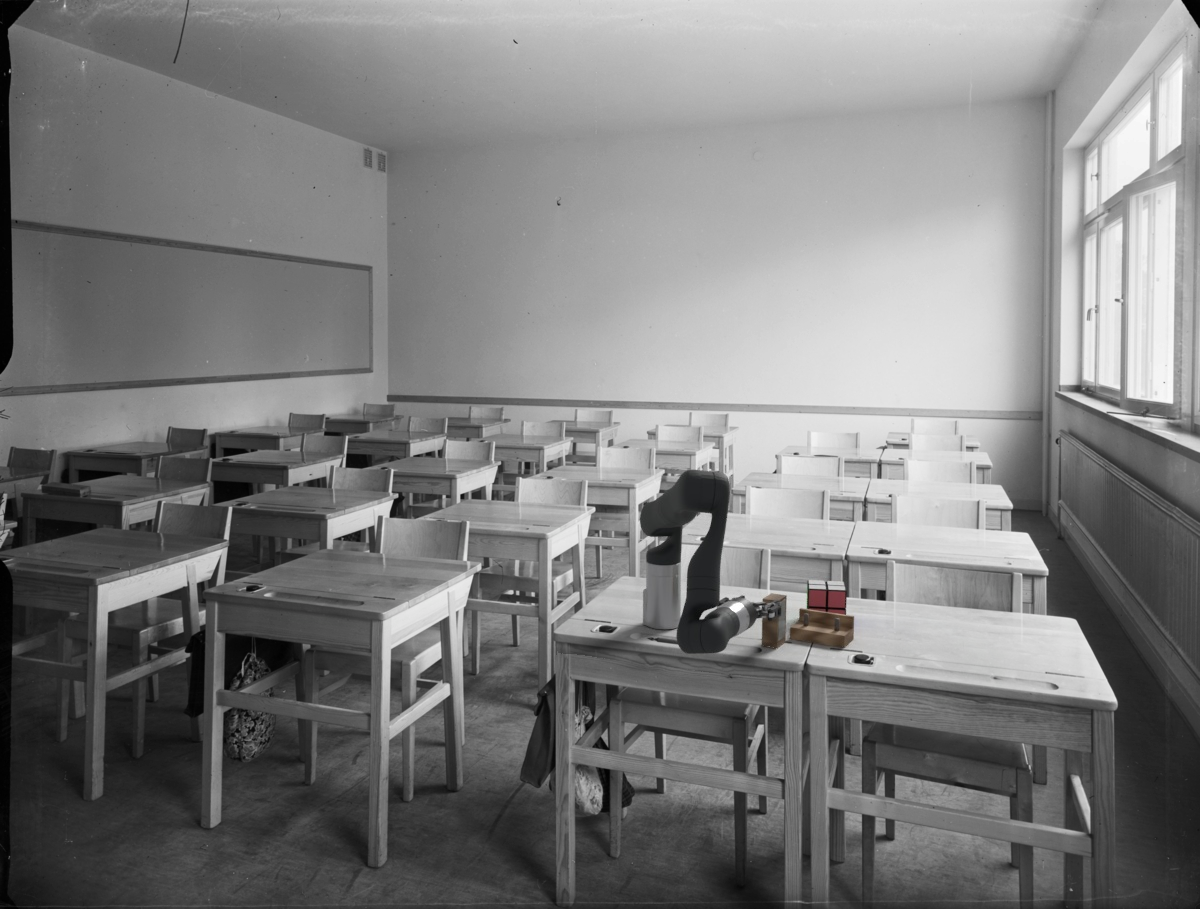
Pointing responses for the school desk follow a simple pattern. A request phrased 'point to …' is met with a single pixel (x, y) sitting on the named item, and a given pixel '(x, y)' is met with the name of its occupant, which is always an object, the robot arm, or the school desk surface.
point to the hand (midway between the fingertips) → (760, 601)
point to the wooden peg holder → (823, 628)
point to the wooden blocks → (774, 624)
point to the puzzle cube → (826, 596)
